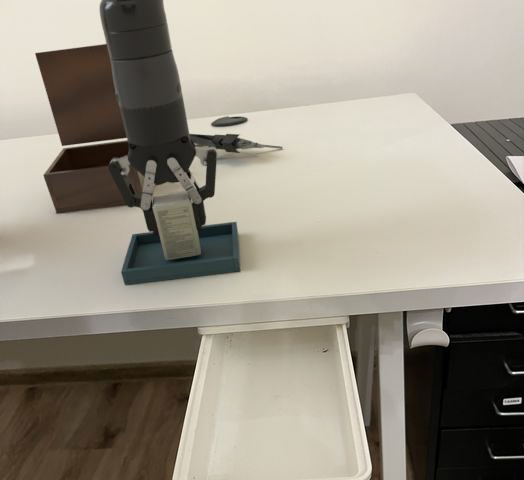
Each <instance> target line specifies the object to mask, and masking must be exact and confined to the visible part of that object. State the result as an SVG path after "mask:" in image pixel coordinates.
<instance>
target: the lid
mask: <svg viewBox="0 0 524 480" xmlns="http://www.w3.org/2000/svg"><path fill="white" fill-rule="evenodd" d="M34 54H35V58H36V62H37V66H38V69H39V71H40V75H41V79H42V82H43V85H44V89H45V93H46V96H47V100H48V104H49V106H50V109H51V113H52V116H53V120H54V123H55V127H56V130H57V133H58V137H59V141H60V144H61V146H62V147H65V146H73V145H83V144H90V143H99V142H108V141H113V140H121V139H122V140H123V139H127V136H126V132H125V128H124V124H123V119H122V115H121V111H120V107H119V103H118V101H117V99H116V95H115V87H114V82H113V76H112V67H111V61H110V57H109V52H108V48H107V44H106V43H105V44H104V43H102V44H96V45H95V44H93V45H88V46H79V47H72V48H71V47H70V48H63V49H57V50H47V51H40V52H35V53H34Z"/></svg>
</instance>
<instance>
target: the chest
mask: <svg viewBox="0 0 524 480" xmlns="http://www.w3.org/2000/svg"><path fill="white" fill-rule="evenodd" d="M128 152H129V144H128V140H127V139H126V140H118V141H117V140H116V141H109V142H103V143H102V142H101V143H94V144H85V145H78V146H71V147H69V146H68V147H64V148H62V149H61V151H60V152H59V153H58V155H57V156H56V157H55V158H54V160H53V161H52V162H51V164H50V165H49V167H48V168H47V169H46V171H44V173H43V179H44V181H45V184H46V187H47V190H48V193H49V195H50V198H51V201H52V205H53V208H54V209H55V213H56V214H61V213H71V211H72V212H78V211H79V212H80V211H87V210H96V209H104V208H105V209H106V208H112V207H120V206H127V205H126V203H125V201H124V199H123V197H122V195H121V193H120V191H119V189H118V187H117V185H116V183H115V181H114V179H113V177H112V175H111V173H110V171H109V169H108V166H109V163H110V161H111V160H112V158H114V157H118V158H121V157H124V156H126V155H128ZM128 177H129V179H130V181H131V183H132V185H133V187H134V189H135V191H136V193H137V194H140V195H142V191H143V185H144V178H145V177H144V176H143V175H142V174H140V173H139V172H138V171H137V170H136V169H135V168H134V167H133V166H132V165H131V164H130V165H129V172H128Z"/></svg>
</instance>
